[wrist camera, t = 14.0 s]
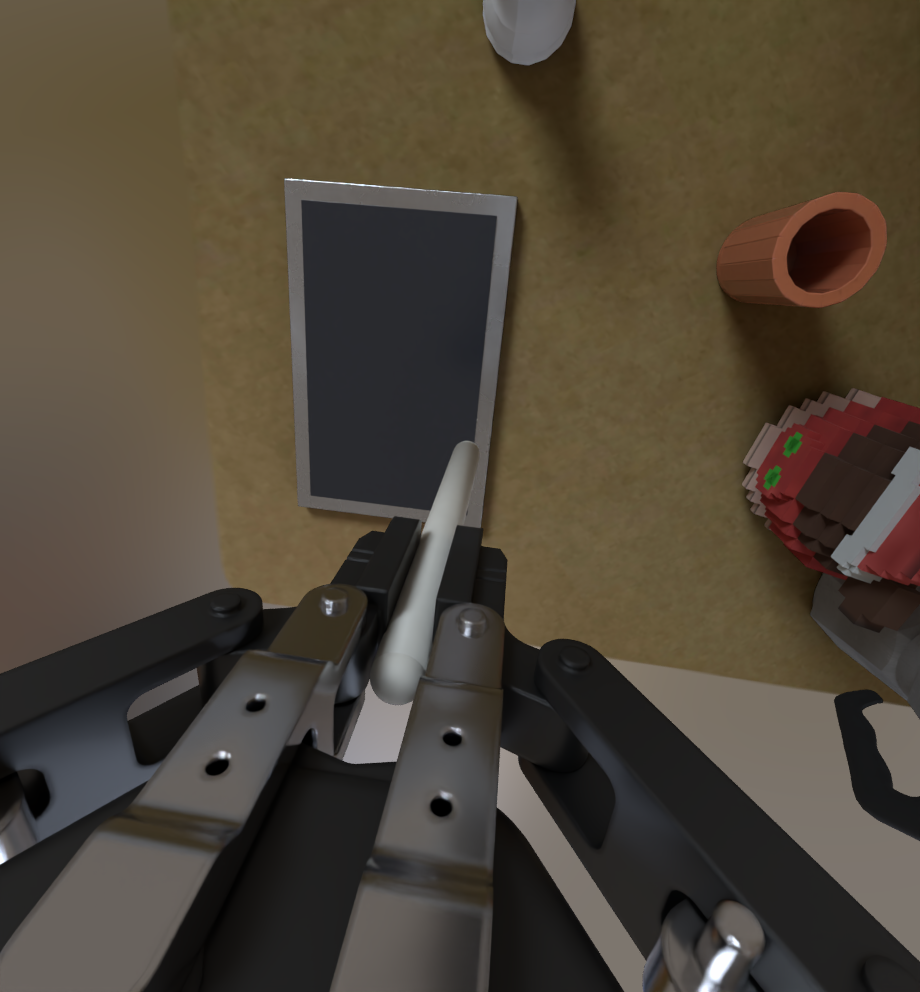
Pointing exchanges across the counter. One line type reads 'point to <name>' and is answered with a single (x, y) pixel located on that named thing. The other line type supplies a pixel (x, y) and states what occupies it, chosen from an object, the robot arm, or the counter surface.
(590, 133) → the counter surface
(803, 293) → the pen cup
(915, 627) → the coffeepot
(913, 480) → the cake
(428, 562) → the stylus
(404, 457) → the tablet
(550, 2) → the rook chess piece
